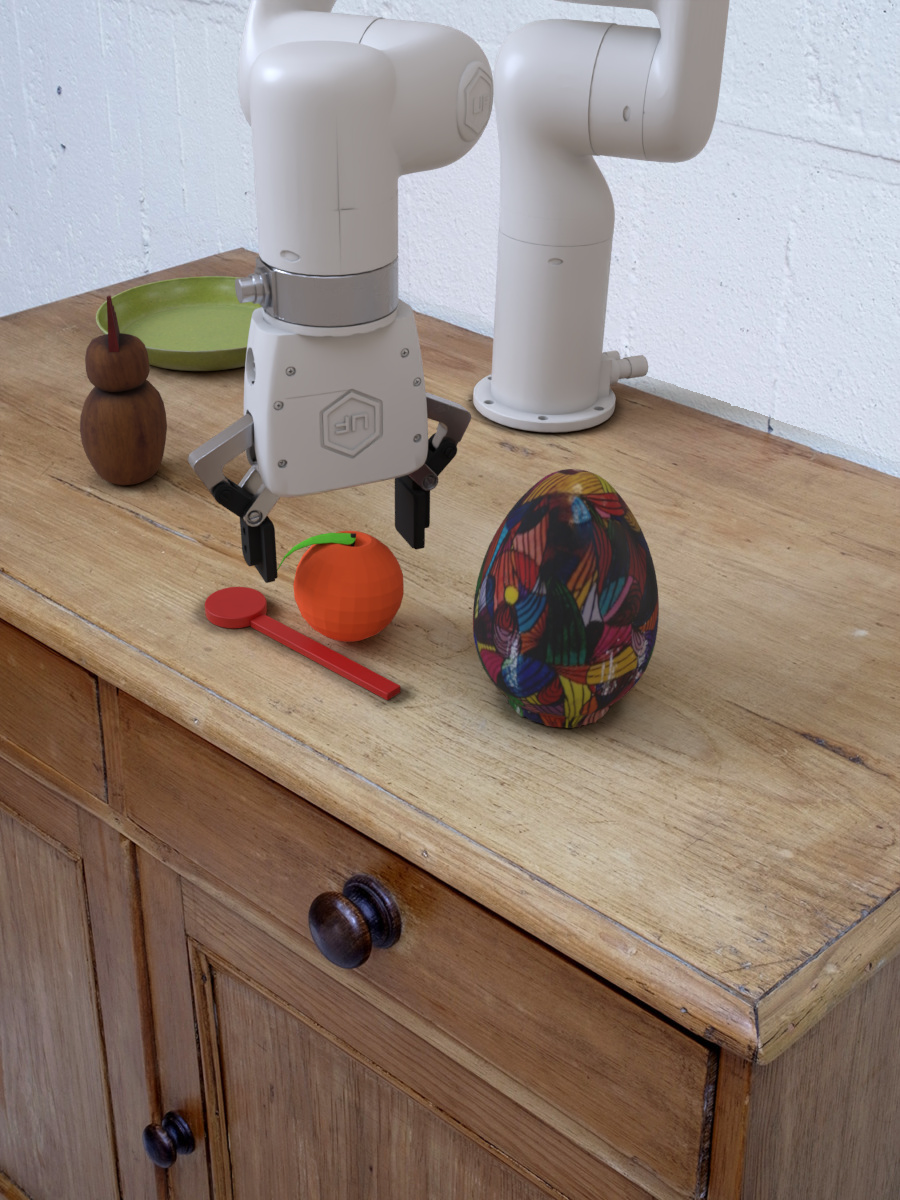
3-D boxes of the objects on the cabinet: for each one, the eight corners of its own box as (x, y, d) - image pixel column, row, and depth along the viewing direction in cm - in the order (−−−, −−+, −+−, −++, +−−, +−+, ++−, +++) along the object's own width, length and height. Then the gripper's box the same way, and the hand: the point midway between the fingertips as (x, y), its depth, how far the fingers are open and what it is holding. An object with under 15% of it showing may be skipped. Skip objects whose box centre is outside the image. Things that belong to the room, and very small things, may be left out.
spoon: (416, 682, 80) (416, 671, 80) (371, 711, 77) (371, 700, 77) (238, 590, 89) (237, 579, 88) (192, 613, 86) (191, 602, 86)
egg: (632, 649, 84) (658, 433, 76) (661, 753, 75) (693, 520, 67) (465, 648, 83) (474, 431, 75) (474, 753, 74) (484, 519, 66)
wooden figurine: (147, 498, 100) (127, 307, 92) (76, 489, 100) (50, 299, 93) (181, 461, 105) (164, 277, 97) (113, 453, 106) (92, 270, 98)
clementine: (276, 661, 80) (281, 555, 77) (271, 608, 86) (276, 508, 83) (405, 662, 81) (416, 558, 78) (392, 610, 87) (401, 512, 84)
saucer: (141, 299, 138) (138, 269, 136) (334, 314, 136) (334, 283, 134) (65, 372, 120) (61, 339, 119) (285, 390, 118) (284, 356, 116)
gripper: (195, 333, 66) (221, 616, 75) (501, 288, 72) (490, 555, 82) (156, 285, 72) (185, 555, 81) (443, 248, 78) (439, 502, 87)
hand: (338, 554), depth 81 cm, fingers open, 9 cm apart
